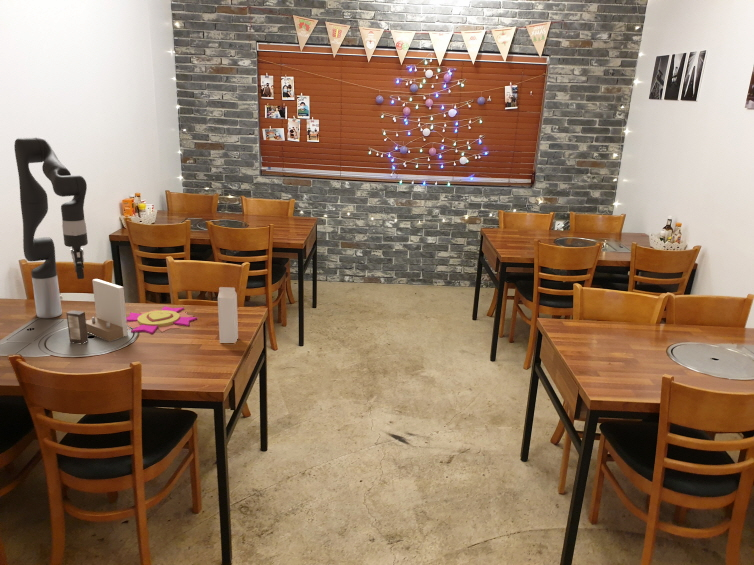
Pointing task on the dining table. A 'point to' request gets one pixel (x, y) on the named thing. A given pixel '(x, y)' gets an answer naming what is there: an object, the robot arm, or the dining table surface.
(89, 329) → the wall panel
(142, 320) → the wall ornament
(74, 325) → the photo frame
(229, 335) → the milk
